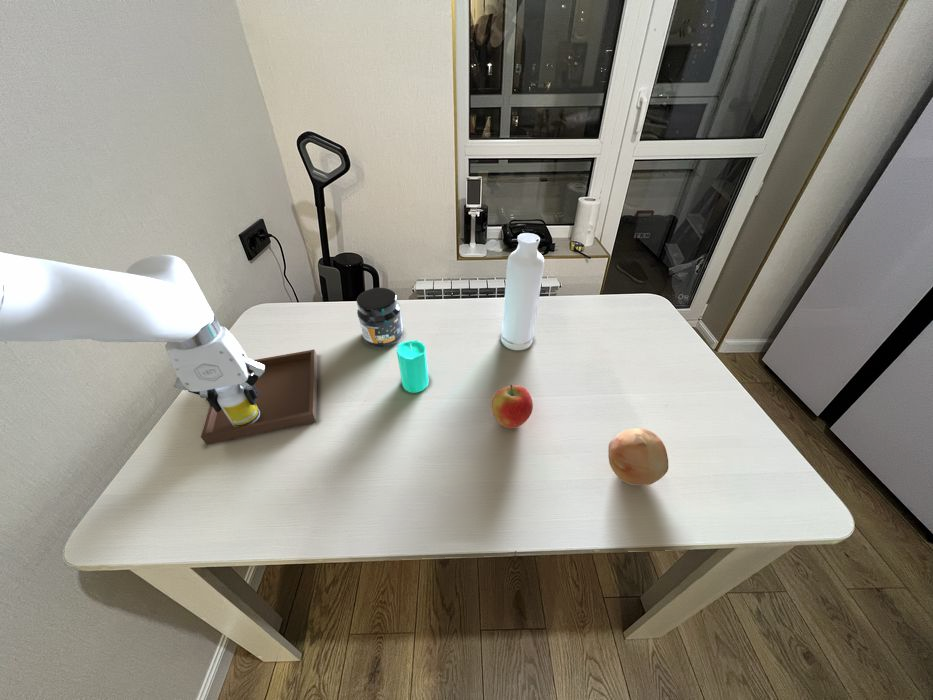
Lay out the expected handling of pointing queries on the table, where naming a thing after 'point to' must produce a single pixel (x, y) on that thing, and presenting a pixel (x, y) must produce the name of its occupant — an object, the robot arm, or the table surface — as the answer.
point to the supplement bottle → (237, 405)
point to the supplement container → (379, 317)
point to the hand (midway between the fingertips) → (237, 402)
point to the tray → (273, 399)
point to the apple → (512, 406)
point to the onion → (638, 456)
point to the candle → (413, 365)
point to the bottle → (522, 292)
